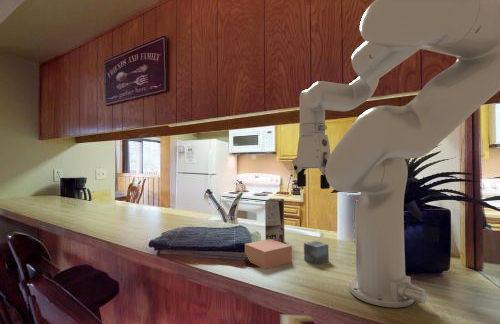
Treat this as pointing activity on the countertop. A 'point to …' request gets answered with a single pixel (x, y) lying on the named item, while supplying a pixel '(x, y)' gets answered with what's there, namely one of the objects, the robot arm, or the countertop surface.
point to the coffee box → (274, 219)
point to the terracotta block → (268, 253)
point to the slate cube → (316, 252)
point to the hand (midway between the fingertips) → (312, 187)
